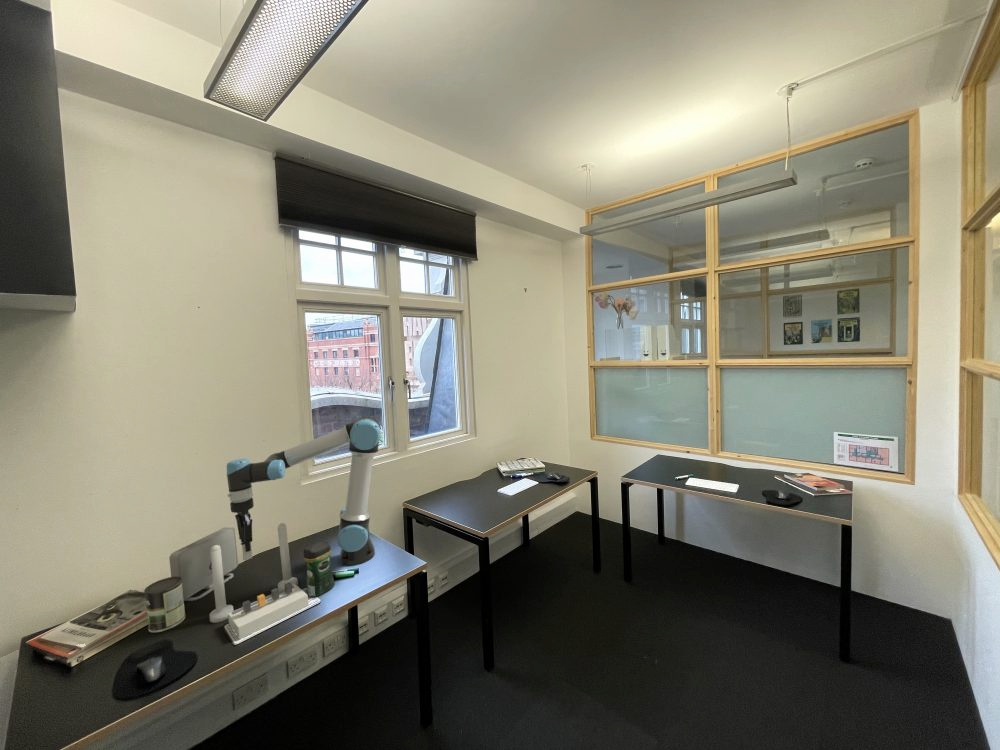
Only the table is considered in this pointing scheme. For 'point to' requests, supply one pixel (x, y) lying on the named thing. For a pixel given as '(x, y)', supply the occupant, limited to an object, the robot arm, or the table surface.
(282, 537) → the white rod
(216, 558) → the white peg stand
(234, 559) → the network device
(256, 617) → the breaker panel
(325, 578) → the coffee jar
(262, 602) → the breaker paddles
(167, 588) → the coffee can
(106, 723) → the table surface
